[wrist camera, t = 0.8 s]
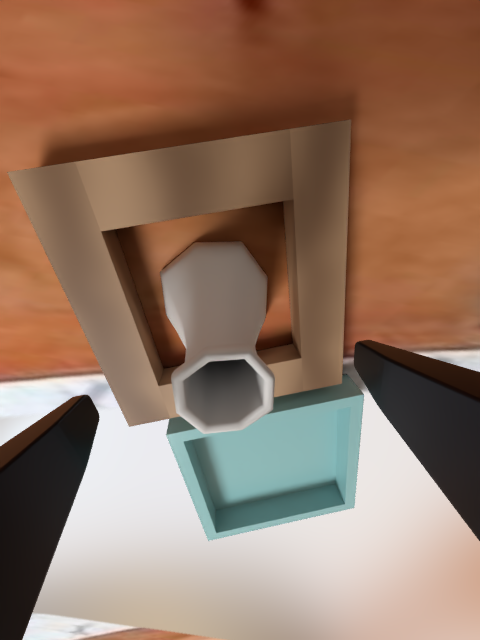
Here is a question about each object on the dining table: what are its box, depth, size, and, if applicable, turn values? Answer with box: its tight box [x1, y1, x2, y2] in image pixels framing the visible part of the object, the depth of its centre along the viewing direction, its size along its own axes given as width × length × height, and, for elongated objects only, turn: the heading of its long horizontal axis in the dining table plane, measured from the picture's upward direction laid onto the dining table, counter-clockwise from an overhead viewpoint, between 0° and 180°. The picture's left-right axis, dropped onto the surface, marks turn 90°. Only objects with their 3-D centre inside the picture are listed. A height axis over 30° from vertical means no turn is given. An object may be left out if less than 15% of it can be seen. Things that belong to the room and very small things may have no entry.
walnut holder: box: [7, 120, 351, 426], centre depth 15 cm, size 16×16×2 cm
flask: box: [160, 241, 275, 434], centre depth 12 cm, size 7×7×10 cm
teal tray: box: [166, 374, 364, 541], centre depth 22 cm, size 15×15×2 cm
